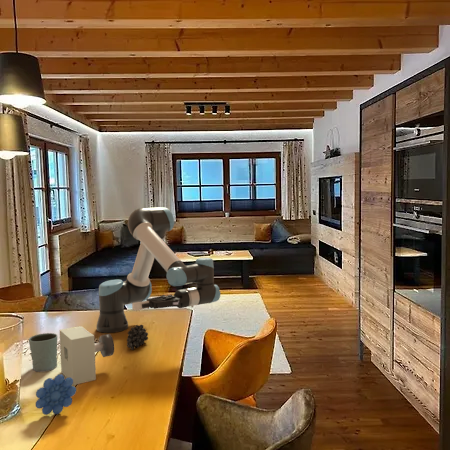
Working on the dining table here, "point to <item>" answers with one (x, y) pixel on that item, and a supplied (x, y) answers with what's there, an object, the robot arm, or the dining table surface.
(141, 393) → the dining table surface
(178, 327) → the dining table surface
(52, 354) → the grey-green cup
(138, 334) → the fruit
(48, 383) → the grapes
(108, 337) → the knob
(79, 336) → the cream rectangular block
